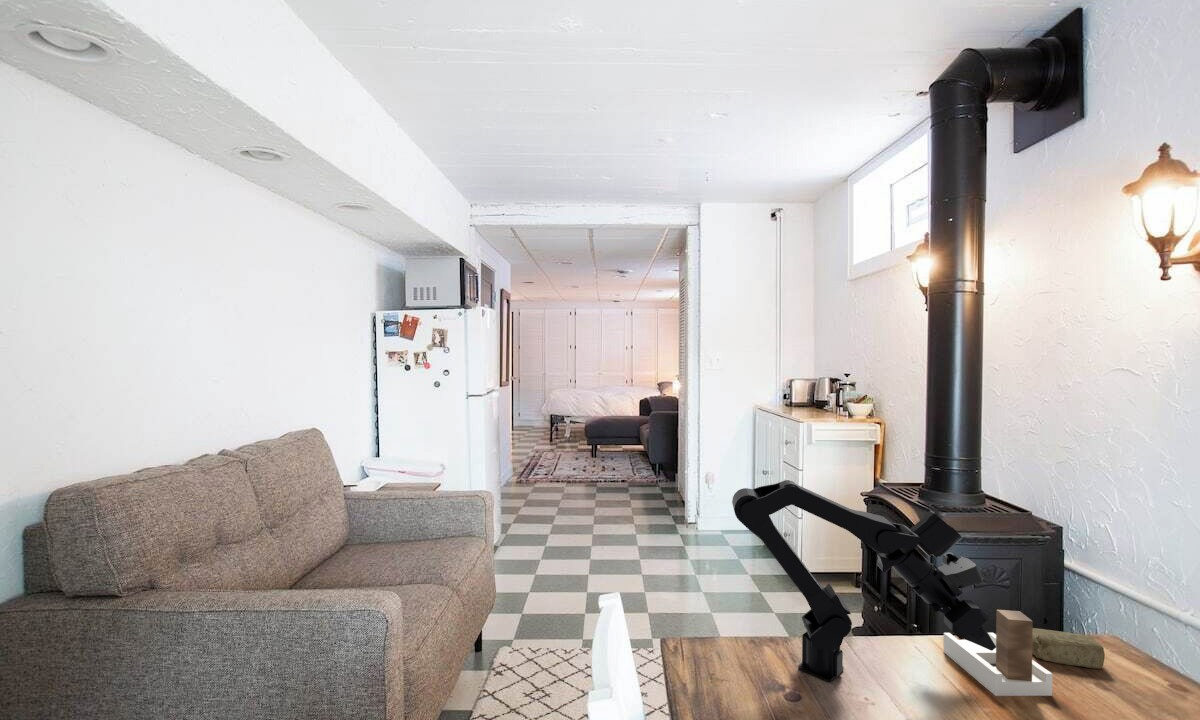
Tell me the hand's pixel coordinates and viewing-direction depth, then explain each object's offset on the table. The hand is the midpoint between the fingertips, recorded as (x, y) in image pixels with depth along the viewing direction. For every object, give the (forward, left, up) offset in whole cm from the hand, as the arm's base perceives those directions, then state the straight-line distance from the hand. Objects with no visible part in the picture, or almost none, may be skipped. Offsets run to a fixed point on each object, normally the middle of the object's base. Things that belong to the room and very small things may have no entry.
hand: (980, 635), depth 105 cm
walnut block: (+4, +3, -7) cm, 9 cm away
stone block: (+10, +23, -10) cm, 27 cm away
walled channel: (+1, +7, -9) cm, 11 cm away
